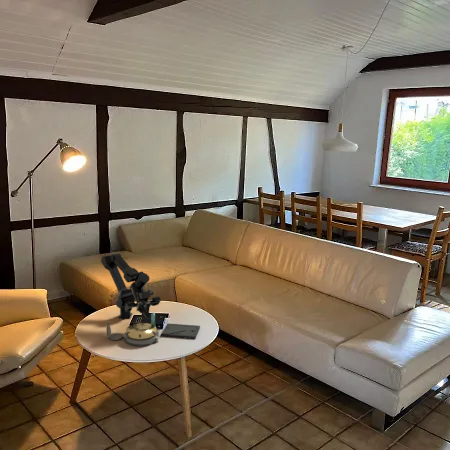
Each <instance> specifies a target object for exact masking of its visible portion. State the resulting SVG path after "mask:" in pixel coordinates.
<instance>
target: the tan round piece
mask: <svg viewBox="0 0 450 450" xmlns="http://www.w3.org/2000/svg"><path fill="white" fill-rule="evenodd" d="M157 331H158V329H157V327H156V312H151V313H150V323H147V322H140V323H134V324H132V325H128V327H126V329H125V332H126V336H127V338H129V339H131V340H136V341H143V340H148V339H151V338H153V337H155V336H156V334H157Z"/></svg>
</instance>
